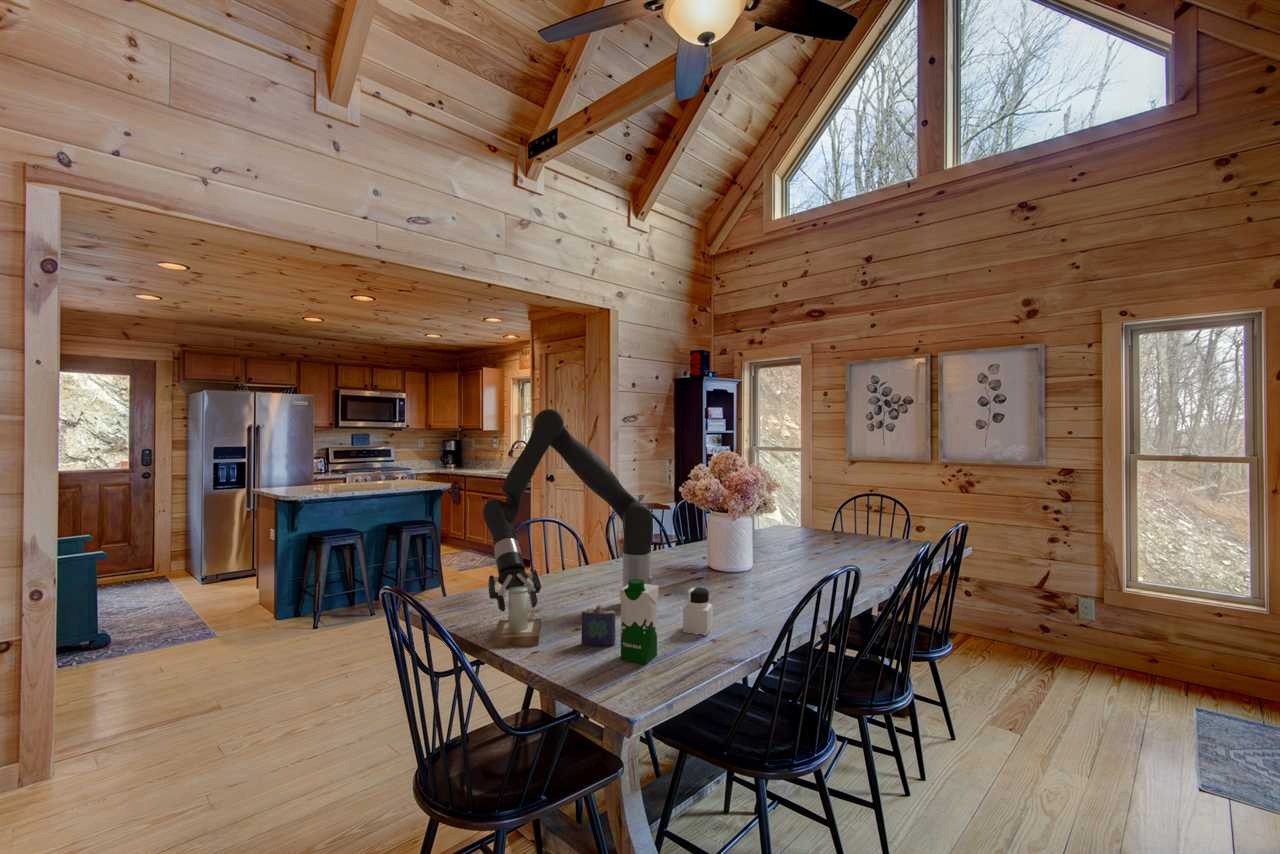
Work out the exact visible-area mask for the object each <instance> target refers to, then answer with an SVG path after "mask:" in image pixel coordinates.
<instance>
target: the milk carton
mask: <svg viewBox="0 0 1280 854" xmlns="http://www.w3.org/2000/svg"><path fill="white" fill-rule="evenodd" d="M659 587H660V586H659V585H656V584H652V585H649V584H644V581H643V580H640V579H632V580H629V581H628V585H626V586H625V587H623V586H622V588H620V589H619V595H620V596H619V597H620V661H624V662H629V663H633V664H639V665H644V666H646V665H648V664H649V663H650V662H651V661H652V660H653V659H654V658H655V657H656V656H657V655H658V600H659Z"/></svg>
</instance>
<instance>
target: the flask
mask: <svg viewBox="0 0 1280 854" xmlns="http://www.w3.org/2000/svg"><path fill="white" fill-rule="evenodd" d="M595 607H596V608H594V609H592V608H587V609H584V610H582V611H581V639H580V640H581V646H583V647H615V645H616V642H617V641H616V615H617V614H616V611H614V610H602V609H601V608H602V604H597V605H596V606H595Z"/></svg>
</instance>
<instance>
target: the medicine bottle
mask: <svg viewBox="0 0 1280 854" xmlns="http://www.w3.org/2000/svg"><path fill="white" fill-rule="evenodd" d="M709 596H710V593H709V590H708V589H706V588H704V587H697V586H696V587H691V588H688V590H687V603H686V605H684V607H683V608H682V632H690V633H698V634H706V635H707V634H708V633H709V634H710V632H711V630H712V629H711V628H713V608H714V607H713V604H712V603H710V602H709V600H710V598H709ZM709 631H710V632H709ZM709 634H708V635H709ZM708 635H707V636H708Z"/></svg>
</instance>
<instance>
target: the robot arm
mask: <svg viewBox="0 0 1280 854" xmlns="http://www.w3.org/2000/svg"><path fill="white" fill-rule="evenodd" d="M564 422H565V421H564V418H563V415H562V413H560V412H559V411H557V409H552V408H547V409H543V410H541V411H539V413H538V414H536V415H535V417H534V418H533V421H532V430H531V435H530V437H529V438H528V440H527V443H526V444H525V446H524V448H523V450H522V452H521V453H520V455H519V456H518V458H517V459H516V461H514V464H513V465H512V466H511V469H510V470H509V472H508V473H507V476H506V478H505V479H504V481H503V483H502V484H501V491H502V493H503V494H505V496H506V497H505V501H503V500H501V499H499V498H490V499H489V500H487V501H486V502H485V503H484V505H483V509H482V511H483V512H482V516H483V519H484V523H485V524H486V527H487V529H488V530H489V533H490V534H491V536H492V542H493V547H494V548H493V549H494V557H495V558H494V560H495V563H496V569H497V574H498V576H494V575H489V577H488V580H487V585H488V595H489V599H491V600H493V599H496V601H497V606H498V610H499V611H500V612H505V611H506V604H505V598H504V594H505V592H506V591H508V589H509V588H510V587H517V586H525V587H528V595H529V600H530V604H531V608H535V607H536V606H537V604H538V597H537V594H540V592H541V589H542V584H541V580H540V577H539V573H538V571H537V570H533V571H532V572H526V569H525V564H524V559H523V554H522V550H521V547H520V544H519V541H518V540H519V539H518V535H517V531H516V529H515V527H514V526H513V525H512V524H514V522H515V520H516V519H517V517H518V514H519V511H520V506H521V502H522V498H523V496H524V495H523V494H524V493H525V491H526V489H527V488H528V486H529V484H530V481H531V479H532V478H533V476H534V473H535V472H536V469H537V468H538V466H539V464H540V462H541V460H542V458H543V456H544V455H545V454H546V451H547V450H548V449H549V447H551V448H552V449H553V450H555V451H556V452H557V453H558V454H559V455H560V457H562V460H563V461H565V463H566V464H567V465H568V467H569V468H570V469H571V470H572V471H573V472H574V473H575V475H577V477H578V478H579V479H580V480H581V481H582V482H583V483H584V485H586V486H587V488H589V489H590V490H591V491H592V492H593V493H594V494H596V495H597V496H598V497H599V498H601V499H602V500H603V501H604V502H606V503H607V504H608V505H609V506H610V507H611V509H613V511H614V512H615V513H616V515H617V516H618V517H619V518H620V520H621V521H622V523H623V525H624V535H623V536H624V541H623V544H622V588H623V587H625V586H626V585H628V581H629V580H632V579H640V580H643V581H644V584H649V585H653V584H652V583H653V580H652V579H653V578H652V576H651V575H652V573H651V571H652V570H651V568H652V559H651V558H652V553H651V551H652V545H653V530H654V528H653V527H654V525H653V524H654V523H653V522H654V520H653V514H652V511H651V510H650V509H649V507H647V506H646V505H644V504H643V503H641V502H640V501H639V500H637V498H635V497H634V496H633V495H632V494H631V493H629V492H628V491H627V490H626V488H624V487H623V485H622V484H621V483H620V481H619V479H618V478H617V476H616V475H615V474H614V472H613V471H612V470H611V468H610V467H609V466H608V465H607V464H606V463H605V462H604V461H603V460H602V459H601V458H600V456H598V455H597V454H596V453H595V452H594V451H592V450H591V449H590V448H588V447H587V446H586V445H585V444H583V443H582V442H580V441H579V440H578V439H577V438H576V437H575V436H574V435H573V434H572V433H571V432H570V431H569V430H568V429H567V426H565V423H564ZM528 579H529V580H530V581H528ZM531 582H532V584H531ZM497 583H499V585H501V587H500V589H499V590H498V591H496V586H495V585H496V584H497Z"/></svg>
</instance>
